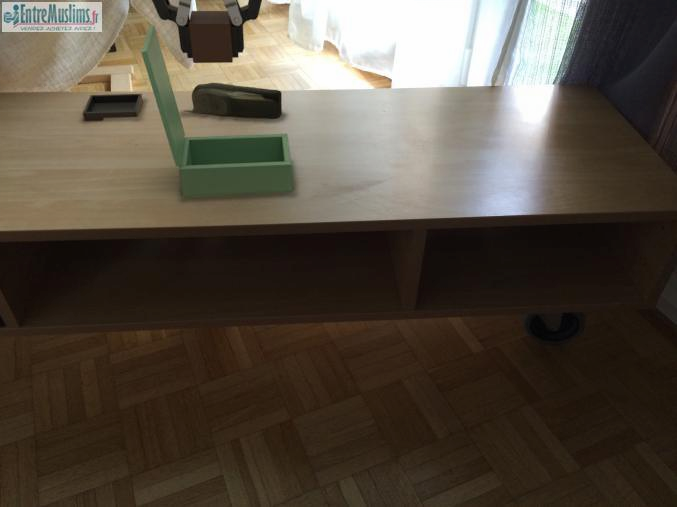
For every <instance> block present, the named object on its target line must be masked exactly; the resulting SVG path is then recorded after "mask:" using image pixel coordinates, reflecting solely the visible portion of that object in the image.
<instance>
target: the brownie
mask: <svg viewBox="0 0 677 507" xmlns="http://www.w3.org/2000/svg"><path fill="white" fill-rule="evenodd" d="M189 20H190V21H189V30H190V39H191V48H192V56H193V58H192V63H193V64H214V63H215V64H221V63H222V64H227V63H229V64H231V63H233V60H234V58H233V55H232V41H231V28H230V25H231V19H230V16H229V14H228V11H227V10H191V12H190V15H189Z"/></svg>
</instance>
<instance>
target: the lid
mask: <svg viewBox="0 0 677 507" xmlns="http://www.w3.org/2000/svg"><path fill="white" fill-rule="evenodd" d="M140 53H141V56H142V60H143V62H144V63H143V64H144V66H145V69H146V73H147V75H148V79H149V82H150V85H151V89H152V93H153V95H154V99H155V102H156V105H157V108H158V112H159V115H160V118H161V122H162V125H163V128H164V132H165V135H166V139H167V141H168V145H169V148H170V151H171V154H172V158H173V161H174V165H175V167H179V166H181V160H182V153H183V146H184V138H185V137H186V132H185V128H184V126H183V122H182V118H181V114H180V111H179V108H178V104H177V100H176V97H175V93H174V90H173V87H172V86H173V85H172V83H171V79H170V75H169V72H168V69H167V65H166V61H165V58H164V55H163V54H164V53H163V51H162V47H161V44H160V40H159V37H158V33H157V29H156V25H154V24H153V25H149V26H148V29H147V33H146V35H145V39H144V42H143V45H142V48H141V51H140Z"/></svg>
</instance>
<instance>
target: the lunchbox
mask: <svg viewBox="0 0 677 507" xmlns="http://www.w3.org/2000/svg"><path fill="white" fill-rule="evenodd" d="M291 156H292V155H291V149H290V141H289V134H288V133H265V134H261V133H260V134H239V135H237V134H235V135H212V136H211V135H210V136H185V138H184V146H183V153H182V160H181V166H178V173H179V178H180V179H179V180H180V184H181V190H182V197H183V198H192V197H211V196H212V197H213V196H231V195H232V196H233V195H234V196H235V195H252V194H253V195H255V194H275V193H292V192H293V165H292V164H293V163H292V158H291Z"/></svg>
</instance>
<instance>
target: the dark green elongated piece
mask: <svg viewBox="0 0 677 507" xmlns="http://www.w3.org/2000/svg"><path fill="white" fill-rule="evenodd" d="M282 94H283V93H282V91H281V90H278V89H269V88H261V87H254V86H244V85H235V84H229V83H223V82H208V83H202V84H201V83H199V84H197V85H196V86H195V87H194V88H193V90H192V93H191V102H192V107H193V108H192V109H191V110H184V112H183V113H185V114H186V113H187V114H202V115H212V116H218V117H230V118H243V119H262V120H263V119H265V120H275V119H279V118H280V117H281V116H282V115H283V110H282V107H283V106H282V101H283V100H282V98H283V97H282Z"/></svg>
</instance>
